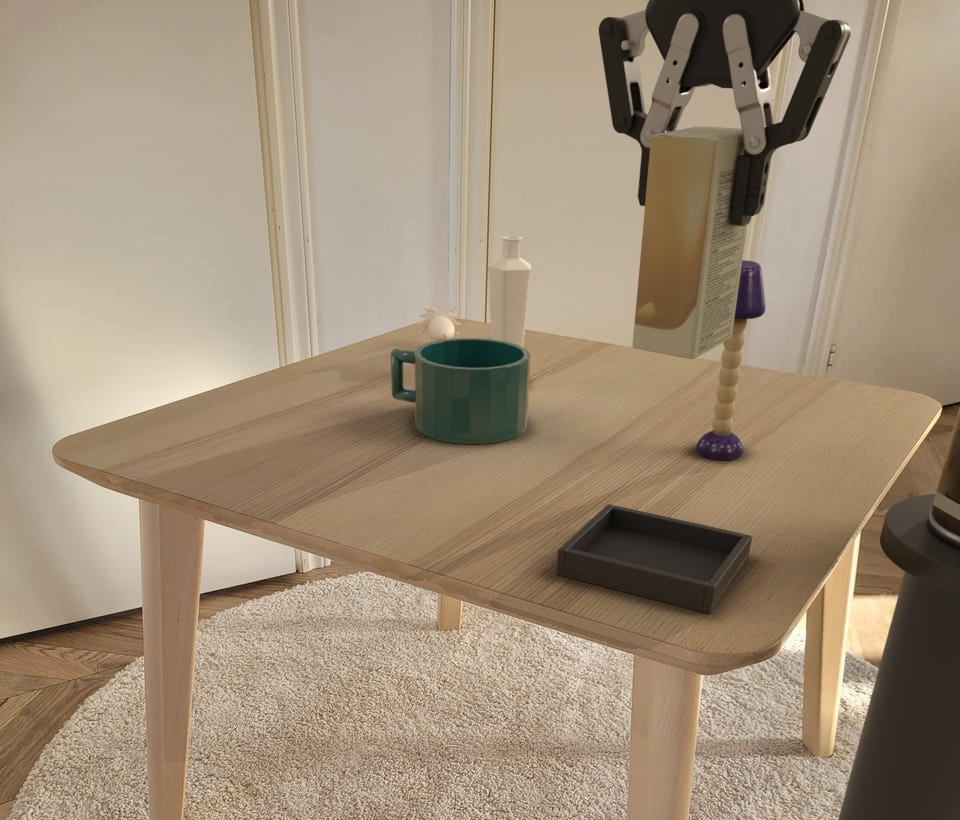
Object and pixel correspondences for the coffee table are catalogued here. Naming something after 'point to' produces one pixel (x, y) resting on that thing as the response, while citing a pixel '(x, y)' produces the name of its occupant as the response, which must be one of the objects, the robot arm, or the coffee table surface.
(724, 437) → the toy lamp
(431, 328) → the cream spiky figurine
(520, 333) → the white bottle vase
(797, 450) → the coffee table surface
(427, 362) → the teal coffee mug
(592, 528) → the tray
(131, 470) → the coffee table surface
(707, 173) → the cosmetic box
